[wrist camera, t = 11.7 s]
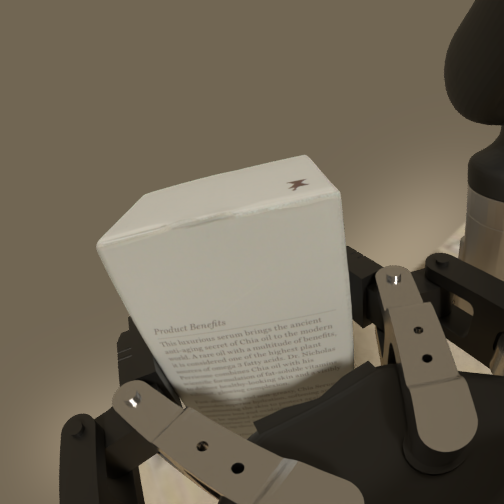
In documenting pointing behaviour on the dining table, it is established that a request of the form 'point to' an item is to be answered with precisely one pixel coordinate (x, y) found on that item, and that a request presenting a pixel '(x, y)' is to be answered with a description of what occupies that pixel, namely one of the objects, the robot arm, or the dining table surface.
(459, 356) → the dining table surface
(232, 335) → the skincare box
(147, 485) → the dining table surface
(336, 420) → the robot arm
